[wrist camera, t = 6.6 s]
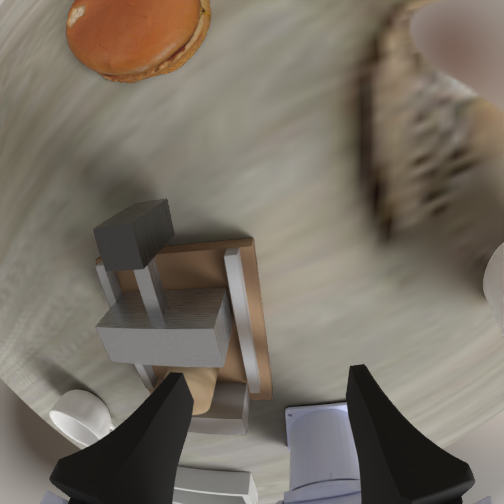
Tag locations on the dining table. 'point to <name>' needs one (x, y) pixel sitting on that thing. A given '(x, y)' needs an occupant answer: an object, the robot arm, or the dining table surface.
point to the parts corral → (213, 487)
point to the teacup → (82, 416)
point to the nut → (199, 385)
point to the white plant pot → (495, 285)
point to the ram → (158, 298)
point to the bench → (243, 331)
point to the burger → (136, 35)
